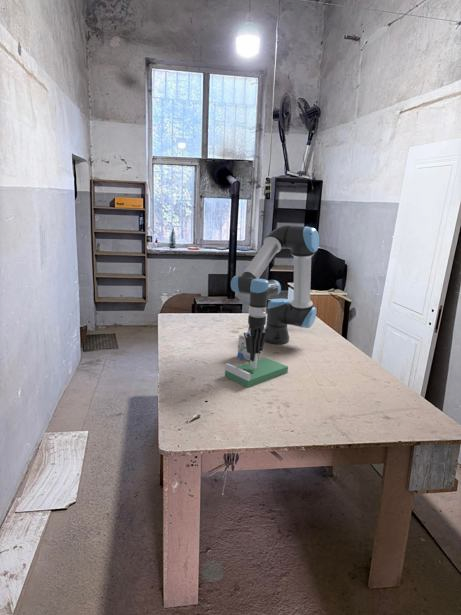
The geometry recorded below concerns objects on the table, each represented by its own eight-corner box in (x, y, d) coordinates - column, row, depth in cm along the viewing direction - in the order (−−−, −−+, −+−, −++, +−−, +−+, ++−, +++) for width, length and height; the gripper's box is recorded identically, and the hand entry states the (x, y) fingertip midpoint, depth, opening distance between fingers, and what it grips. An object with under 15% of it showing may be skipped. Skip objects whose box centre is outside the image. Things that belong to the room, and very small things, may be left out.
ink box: (236, 357, 208) (238, 334, 205) (241, 354, 212) (242, 332, 209) (252, 361, 204) (254, 338, 201) (257, 358, 208) (258, 335, 205)
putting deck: (224, 376, 185) (225, 363, 183) (264, 363, 202) (265, 351, 201) (247, 387, 175) (248, 374, 174) (287, 372, 193) (288, 360, 191)
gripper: (253, 319, 173) (249, 373, 179) (274, 315, 182) (269, 366, 188) (240, 315, 178) (237, 367, 184) (261, 311, 187) (257, 361, 193)
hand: (253, 366), depth 186 cm, fingers closed
